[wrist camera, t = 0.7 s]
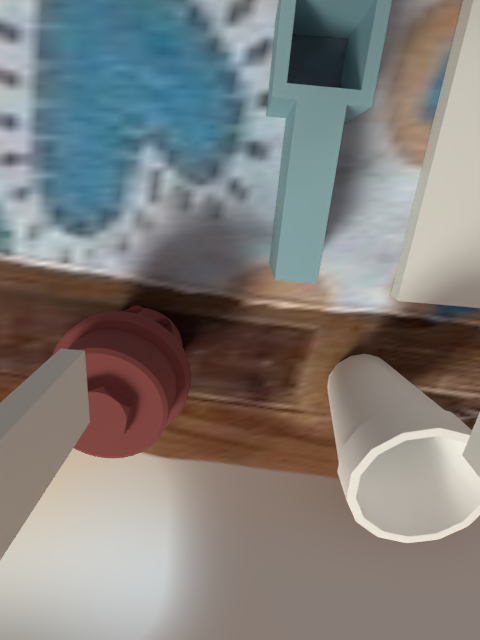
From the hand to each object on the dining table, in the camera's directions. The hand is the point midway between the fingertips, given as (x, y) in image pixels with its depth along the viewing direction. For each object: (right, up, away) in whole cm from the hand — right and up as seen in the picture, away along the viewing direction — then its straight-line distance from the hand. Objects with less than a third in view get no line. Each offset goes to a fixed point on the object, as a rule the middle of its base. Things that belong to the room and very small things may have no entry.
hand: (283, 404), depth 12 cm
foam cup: (+10, -3, +23) cm, 25 cm away
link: (+3, +16, +16) cm, 22 cm away
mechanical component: (-10, +1, +22) cm, 24 cm away
